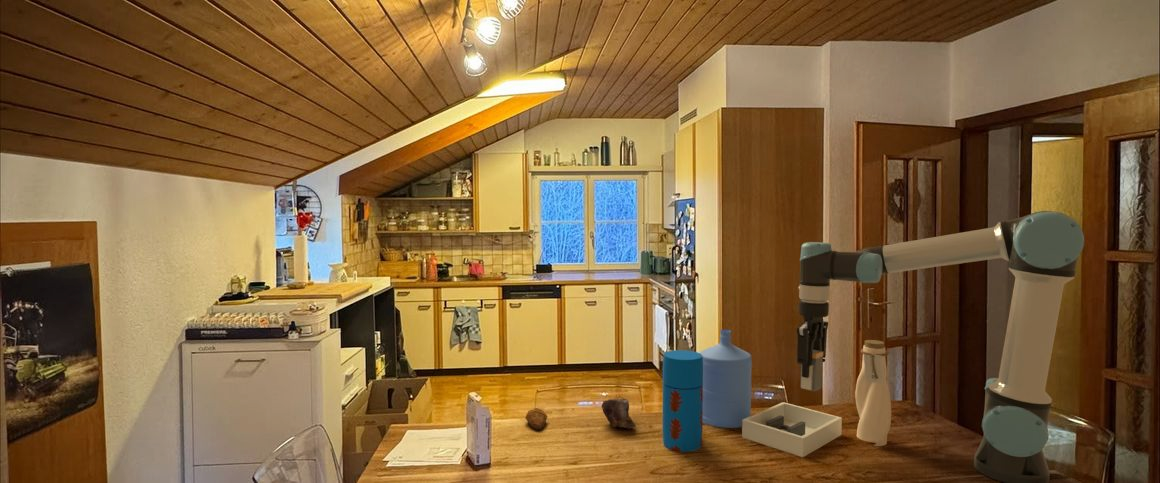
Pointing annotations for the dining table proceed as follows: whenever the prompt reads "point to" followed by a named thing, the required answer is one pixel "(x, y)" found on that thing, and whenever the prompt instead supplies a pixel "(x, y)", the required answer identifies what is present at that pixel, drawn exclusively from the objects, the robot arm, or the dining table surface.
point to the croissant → (536, 418)
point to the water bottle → (873, 395)
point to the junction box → (816, 426)
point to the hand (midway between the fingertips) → (810, 386)
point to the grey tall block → (816, 370)
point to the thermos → (682, 400)
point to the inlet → (779, 424)
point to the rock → (618, 413)
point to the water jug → (726, 384)
